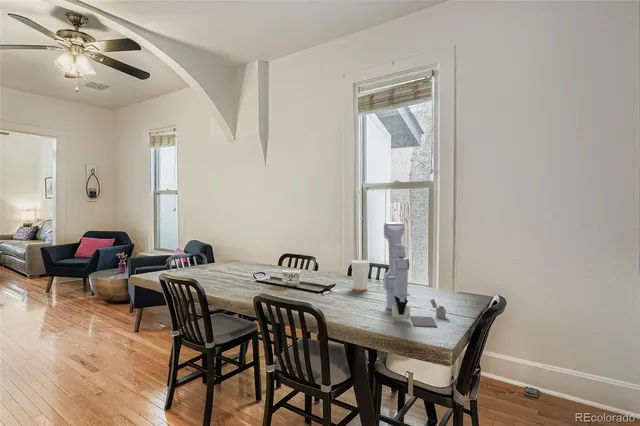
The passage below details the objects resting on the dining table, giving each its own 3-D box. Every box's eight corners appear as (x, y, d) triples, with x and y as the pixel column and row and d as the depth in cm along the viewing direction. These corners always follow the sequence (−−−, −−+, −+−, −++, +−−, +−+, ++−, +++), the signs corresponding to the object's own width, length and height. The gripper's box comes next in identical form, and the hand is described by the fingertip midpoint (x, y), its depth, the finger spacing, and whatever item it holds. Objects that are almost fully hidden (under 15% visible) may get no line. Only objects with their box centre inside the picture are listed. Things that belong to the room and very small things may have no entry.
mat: (410, 317, 164) (410, 316, 164) (432, 318, 163) (432, 317, 163) (413, 326, 152) (413, 325, 152) (437, 327, 151) (437, 326, 151)
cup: (373, 289, 215) (373, 261, 214) (359, 292, 208) (359, 263, 208) (361, 286, 224) (361, 259, 224) (347, 288, 218) (347, 261, 217)
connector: (391, 315, 161) (391, 301, 161) (409, 316, 160) (409, 301, 160) (392, 317, 158) (392, 303, 158) (410, 318, 157) (410, 303, 157)
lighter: (445, 317, 164) (446, 300, 164) (444, 318, 163) (445, 301, 162) (430, 314, 168) (431, 298, 168) (429, 315, 167) (429, 299, 166)
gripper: (411, 288, 151) (411, 319, 151) (408, 280, 165) (408, 308, 166) (395, 287, 152) (395, 318, 152) (393, 280, 166) (393, 308, 167)
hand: (400, 313), depth 159 cm, fingers closed on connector, 3 cm apart
